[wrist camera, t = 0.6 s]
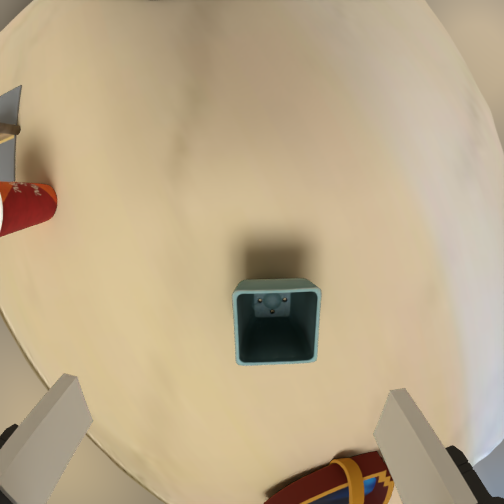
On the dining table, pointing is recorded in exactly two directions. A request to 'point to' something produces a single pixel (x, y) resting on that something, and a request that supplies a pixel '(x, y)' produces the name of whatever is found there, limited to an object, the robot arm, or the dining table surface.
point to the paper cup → (25, 205)
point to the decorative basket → (342, 483)
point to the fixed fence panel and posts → (8, 130)
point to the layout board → (3, 151)
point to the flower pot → (276, 321)
